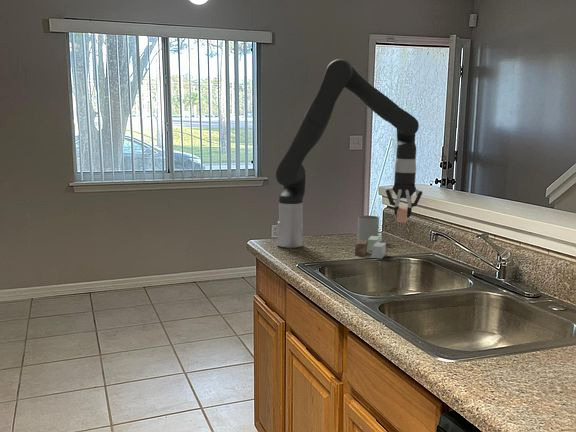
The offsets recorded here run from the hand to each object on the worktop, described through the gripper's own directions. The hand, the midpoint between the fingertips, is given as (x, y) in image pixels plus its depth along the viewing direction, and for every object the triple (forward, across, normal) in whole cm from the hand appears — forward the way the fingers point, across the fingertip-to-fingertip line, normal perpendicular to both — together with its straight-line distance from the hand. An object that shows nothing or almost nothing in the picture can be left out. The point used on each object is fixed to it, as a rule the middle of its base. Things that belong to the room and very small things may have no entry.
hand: (402, 216), depth 208 cm
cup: (+14, -16, +16) cm, 26 cm away
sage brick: (+14, -11, +2) cm, 18 cm away
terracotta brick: (+1, 0, 0) cm, 1 cm away
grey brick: (+14, -7, -9) cm, 18 cm away
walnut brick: (+14, -14, -7) cm, 21 cm away
